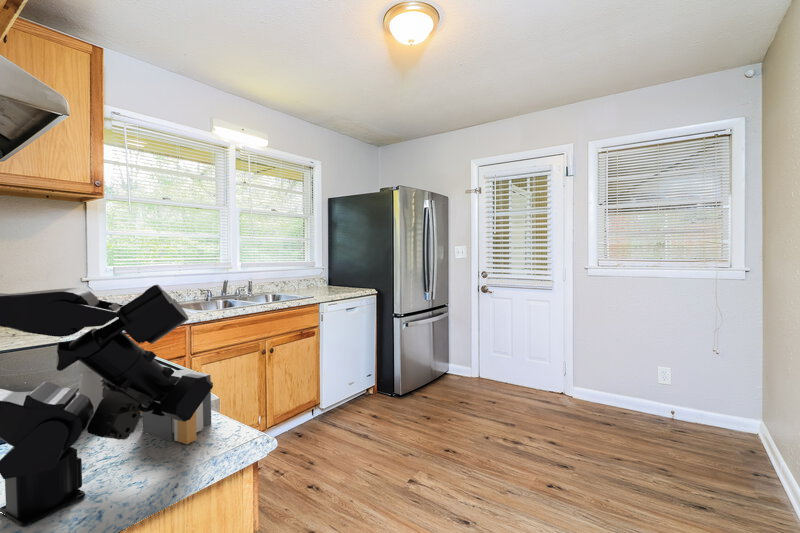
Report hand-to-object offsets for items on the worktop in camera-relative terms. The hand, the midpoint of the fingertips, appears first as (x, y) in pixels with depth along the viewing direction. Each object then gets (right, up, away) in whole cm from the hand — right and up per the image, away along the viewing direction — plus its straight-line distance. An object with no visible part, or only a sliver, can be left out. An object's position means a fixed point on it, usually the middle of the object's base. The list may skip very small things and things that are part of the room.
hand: (190, 417), depth 64 cm
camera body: (-7, -5, +8) cm, 12 cm away
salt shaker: (-24, -5, +10) cm, 26 cm away
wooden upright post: (-2, -5, +4) cm, 7 cm away
